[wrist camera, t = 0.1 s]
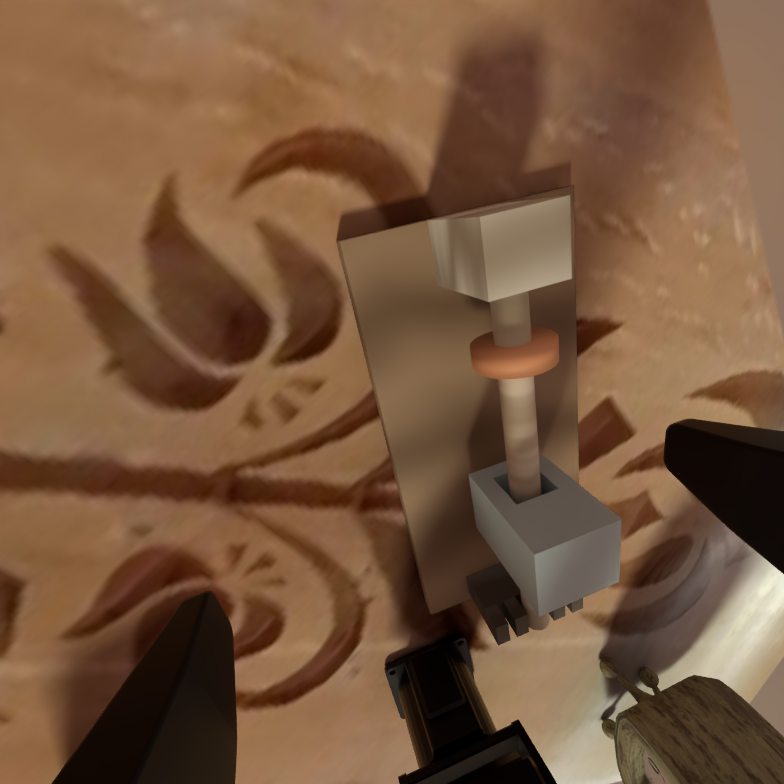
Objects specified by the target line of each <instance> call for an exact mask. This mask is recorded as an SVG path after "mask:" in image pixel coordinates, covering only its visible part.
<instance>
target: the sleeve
mask: <svg viewBox="0 0 784 784" xmlns="http://www.w3.org/2000/svg"><path fill="white" fill-rule="evenodd" d="M539 465H540V480H541V496H538V497H535V498H533V499H530V500H528V501H525V502H522V503H520V504H516V503H515V502H514V501H513V500H512V499H511V498H510V489H509V480H508V470H507V461H505V462H502V463H499V464H496V465H493V466H491V467H488V468H485V469H482V470H479V471H477V472H474V473H471V474H468V475H469V482H470V488H471V495H472V501H473V508H474V514H475V521H476V527H477V529H478V530H479V532H480V533H481V534H482V536H483V537H484V539H485V540H486V542H487V543H488V544H489V546H490V547H491V549H492V550H493V552H494V553H495V554H496V556H497V557H498V559H499V560H500V562H501V563H502V564H503V566H504V567H505V569H506V570H507V572H508V573H509V575H510V576H511V577H512V579H513V580H514V582H515V583H516V585H517V586H518V587H519V589H520V590H521V592H522V593H523V595H524V596H525V597H526V599H527V600H528V602H529V603H530V605H531V606H532V607H533V609H534V610H535V612H536V613H537V615H538V616H539V617H540V616H542V615H545V614H547V613H549V612H552V611H554V610H556V609H558V608H561V607H563V606H565V605H568V604H570V603H572V602H574V601H577V600H579V599H581V598H584V597H586V596H588V595H590V594H593V593H595V592H597V591H599V590H602V589H604V588H606V587H609V586H611V585H613V584H615V583H618V582H619V571H620V546H621V522H622V519H621V518H619V517H618V516H617V515H616V514H614V513H613V512H612V511H611V510H610V509H608V508H607V507H606V506H605V505H603V504H602V503H601V502H600V501H599V500H597V499H596V498H595V497H594V496H592V495H591V494H590V493H589V492H588V491H586V490H585V489H584V488H583V487H581V486H580V485H579V484H578V483H577V482H575V481H574V480H573V479H572V478H570V477H569V476H568V475H567V474H566V473H564V472H563V471H562V470H561V469H559V468H558V467H557V466H556V465H555V464H553V463H552V462H551V461H550V460H548V459H547V458H546V457H545V456H544V455H542V454H541V453H540V452H539Z"/></svg>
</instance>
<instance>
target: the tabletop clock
mask: <svg viewBox="0 0 784 784" xmlns="http://www.w3.org/2000/svg"><path fill="white" fill-rule="evenodd" d="M600 669H601V671H602V672H603V674H604V675H605V676H606V677H608V678H612V679H613V678H617V679H618V681H619V682H620V683H621V684H622V685H623V686H624V687H625V688H626V689H627V690H628V691H629V692H630V693H631V695H632V696H633V697H634V698H635V699H636V701H637V702H638V704H636V705H634V706H632V707H631V708H629V709H627V710H625V711H623V712H621V713H619V714H618V715H617V717H616V723H615V722H614V721H613V720H611V719H605V720H604V721H603V723H602V729H603V731H604V733H605V734H606V736H607V737H609V738H610V739H614V740H615V750H616V759H617V765H618V769H619V772H620V775H621V778H622V781H623V783H624V784H784V737H783V736H782V735H781V734H780V733H779V732H778V731H777V730H776V729H775V728H774V727H773V726H772V725H771V724H770V723H768V722H767V721H766V720H765V719H764V718H763V717H762V716H761V715H760V714H759V713H758V712H757V711H756V710H755V709H754V708H752V706H751V705H750V704H749V703H747V702H746V701H745V700H744V699H743V698H742V697H741V696H739V695H738V694H737V693H736V692H735V691H734V690H732V689H731V688H730V687H728V686H727V685H726V684H724V683H723V682H722V681H720V680H718V679H713V678H707V677H702V676H696V675H693V676H690V677H688V678H686V679H684V680H682V681H680V682H678V683H676V684H674V685H672V686H671V687H669V688H667V689H665V690H663V691H660V690H659V688H658V687H657V685H658V683H659V679H658V676H657V674H656V673H655V672H654V671H653V670H651V669H649V668H644V669H642V670H641V672H640V678H641V680H642V682H643V683H644V685H646V686H647V687H650V688H652V689H653V692H654V694H655V695H650V694H648V693H646V692H643V691H642V690H640V689H639V688H637V687H636V686H635V685H634V684H632V683H631V682H630V681H629V680H627V679H626V678H625V677H624V676H622V675H621V674H620V673H619V672H620V670H619V666H618V664H617V663H616V661H614V660H613V659H612V658H609V657H606V658H603V659H602V660H601V661H600Z"/></svg>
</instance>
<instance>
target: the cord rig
mask: <svg viewBox="0 0 784 784" xmlns="http://www.w3.org/2000/svg"><path fill="white" fill-rule="evenodd" d="M336 242H337V246H338V250H339V254H340V258H341V262H342V266H343V270H344V274H345V278H346V282H347V286H348V290H349V294H350V298H351V302H352V306H353V310H354V314H355V318H356V323H357V327H358V331H359V335H360V339H361V343H362V347H363V351H364V355H365V359H366V363H367V367H368V371H369V375H370V379H371V383H372V387H373V391H374V395H375V399H376V403H377V407H378V411H379V415H380V419H381V423H382V427H383V431H384V435H385V439H386V444H387V448H388V452H389V456H390V460H391V464H392V468H393V472H394V476H395V480H396V484H397V488H398V492H399V496H400V500H401V504H402V508H403V512H404V516H405V520H406V524H407V528H408V532H409V536H410V540H411V544H412V548H413V552H414V556H415V560H416V565H417V569H418V573H419V577H420V581H421V585H422V589H423V593H424V597H425V601H426V604H427V607H428V609H429V611H430V614H431V615H433V614H435V613H437V612H440V611H442V610H445V609H447V608H449V607H452V606H454V605H457V604H459V603H461V602H464V601H466V600H469V599H471V598H473V600H474V602H475V604H476V606H477V607H478V609H479V611H480V613H481V615H482V616H483V618H484V620H485V622H486V624H487V625H488V627H489V629H490V631H491V633H492V635H493V636H494V638H495V640H496V642H497V644H498V645H500V644H503V643H505V642H507V641H509V640H510V635H509V627H508V622H509V624H510V626H511V627H512V629H513V631H514V632H515V634H516V635H517V637H518V636H521V635H523V634H525V633H527V632H529V628H528V627H530V628H531V629H534V630H542V629H545V628H546V627H547V626H548V624H549V614H550V616H551V617H552V618H553V620H554V621H555V620H557V619H559V618H561V617H564V616H565V606H563V607H561V608H558V609H556V610H554V611H552V612H549V613H547V614H545V615H542V616H540V617H539V616H538V615H537V613H536V612H535V610H534V609H533V607H532V606H531V605H530V603H529V602H528V600H527V599H526V597H525V596H524V595H523V593H522V592H521V590H520V589H519V587H518V586H517V585H516V583H515V582H514V580H513V579H512V577H511V576H510V575H509V573H508V572H507V570H506V569H505V567H504V566H503V564H502V563H501V562H500V560H499V559H498V557H497V556H496V554H495V553H494V552H493V550H492V549H491V547H490V546H489V544H488V543H487V542H486V540H485V539H484V537H483V536H482V534H481V533H480V532H479V530H478V529H477V527H476V521H475V514H474V508H473V501H472V495H471V488H470V482H469V475H468V474H471V473H474V472H477V471H479V470H482V469H485V468H488V467H491V466H493V465H496V464H499V463H502V462H505V461H507V470H508V480H509V489H510V498H511V499H512V500H513V501H514V502H515V503H516V504H520V503H522V502H525V501H528V500H530V499H533V498H535V497H538V496H541V480H540V465H539V452H540V453H541V454H542V455H544V456H545V457H546V458H547V459H548V460H550V461H551V462H552V463H553V464H555V465H556V466H557V467H558V468H559V469H561V470H562V471H563V472H564V473H566V474H567V475H568V476H569V477H570V478H572V479H573V480H574V481H575V482H577V483H578V484H579V466H578V401H577V335H576V270H575V205H574V186H568V187H561V188H557V189H553V190H548V191H544V192H540V193H536V194H532V195H527V196H523V197H519V198H515V199H511V200H506V201H502V202H498V203H494V204H490V205H485V206H481V207H477V208H473V209H469V210H464V211H460V212H456V213H452V214H448V215H443V216H439V217H435V218H431V219H427V220H422V221H418V222H414V223H410V224H406V225H401V226H397V227H393V228H389V229H385V230H380V231H376V232H372V233H368V234H363V235H359V236H355V237H351V238H347V239H342V240H338V241H336ZM566 606H567V607H568V608H569V609H570V611H571V612H572V613H573V612H575V611H577V610H579V609H582V608H583V598H581V599H579V600H577V601H574V602H572V603H570V604H568V605H566ZM505 618H506V619H507V621H508V622H507V621H506V619H505Z"/></svg>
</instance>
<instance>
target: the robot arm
mask: <svg viewBox="0 0 784 784" xmlns="http://www.w3.org/2000/svg"><path fill="white" fill-rule="evenodd" d="M663 459H664V463H665V465H666V467H667V469H668V470H669V471H670V472H671V473H672V474H673V475H674V476H675V477H676V478H677V479H678V480H679V481H680V482H681V483H682V484H683V485H684V486H685V487H686V488H687V489H688V490H689V491H691V492H692V493H693V494H694V495H695V496H696V497H697V498H698V499H699V500H700V501H701V502H702V503H703V504H704V505H705V506H706V507H707V508H708V509H709V510H710V511H711V512H712V513H713V514H714V515H715V516H716V517H717V518H718V519H719V520H721V521H722V522H723V523H724V524H725V525H726V526H727V527H728V528H729V529H730V530H731V531H733V532H734V533H735V534H736V535H737V536H738V537H740V538H741V539H742V540H743V541H744V542H745V543H747V544H748V545H749V546H750V547H752V548H753V549H754V550H755V551H756V552H758V553H759V554H760V555H761V556H762V557H764V558H765V559H766V560H767V561H769V562H770V563H771V564H772V565H773V566H775V567H776V568H777V569H778V570H779V571H781V572H782V573H783V574H784V431H777V430H770V429H762V428H755V427H748V426H741V425H733V424H726V423H719V422H712V421H704V420H697V419H684V420H682V421H679V422H676V423H673V424H671V425H670V426H668V428H667V430H666V436H665V446H664V456H663ZM385 673H386V676H387V679H388V682H389V685H390V688H391V691H392V694H393V697H394V700H395V702H396V705H397V708H398V711H399V714H400V717H401V718H402V719H405V720H406V723H407V727H408V730H409V734H410V738H411V741H412V745H413V748H414V752H415V756H416V759H417V763H418V766H419V769H418V770H416V771H413V772H411V773H409V774H407V775H406V773H405V774H403V775H401V776H399V777H398V779H399V783H400V784H557V783H556V781H555V780H554V778H553V776H552V774H551V773H550V771H549V769H548V768H547V766H546V764H545V763H544V761H543V759H542V758H541V756H540V754H539V753H538V751H537V749H536V748H535V746H534V744H533V743H532V741H531V739H530V738H529V736H528V734H527V733H526V731H525V729H524V728H523V726H522V724H521V723H520V721H519V720H516V721H514V722H511V725H509V726H507V727H505V728H503V729H501V730H499V731H497V730H496V728H495V726H494V724H493V721H492V719H491V717H490V715H489V713H488V710H487V708H486V706H485V704H484V702H483V699H482V697H481V695H480V693H479V691H478V688H477V686H476V684H475V680H474V675H473V670H472V665H471V660H470V655H469V650H468V645H467V640H466V638H465V636H464V634H457V635H455V636H452V637H450V638H448V639H445V640H443V641H441V642H438V643H436V644H434V645H431V646H429V647H427V648H424V649H422V650H420V651H417V652H415V653H413V654H410V655H408V656H406V657H403V658H401V659H399V660H396V661H394V662H392V663H389V664H388V665H387V666H386V667H385ZM236 755H237V716H236V692H235V668H234V643H233V631H232V627H231V624H230V621H229V619H228V618H227V616H226V614H225V612H224V610H223V608H222V606H221V604H220V603H219V601H218V599H217V597H216V595H215V594H214V593H213V592H212V591H205V592H202V593H199V594H196V595H194V596H191V597H188V598H186V599H185V600H184V601H183V602H182V603H181V604H180V605H179V607H178V608H177V610H176V611H175V612H174V614H173V615H172V617H171V618H170V619H169V621H168V622H167V624H166V625H165V626H164V628H163V629H162V630H161V632H160V633H159V635H158V636H157V637H156V639H155V640H154V642H153V643H152V644H151V646H150V647H149V649H148V650H147V651H146V653H145V654H144V656H143V657H142V658H141V660H140V661H139V663H138V664H137V665H136V667H135V668H134V670H133V671H132V672H131V674H130V675H129V676H128V678H127V679H126V681H125V682H124V683H123V685H122V686H121V688H120V689H119V690H118V692H117V693H116V695H115V696H114V697H113V699H112V700H111V702H110V703H109V704H108V706H107V707H106V709H105V710H104V711H103V713H102V714H101V716H100V717H99V718H98V720H97V721H96V722H95V724H94V725H93V727H92V728H91V729H90V731H89V732H88V734H87V735H86V736H85V738H84V739H83V741H82V742H81V743H80V745H79V746H78V748H77V749H76V750H75V752H74V753H73V755H72V756H71V757H70V759H69V760H68V762H67V763H66V764H65V766H64V767H63V769H62V770H61V771H60V773H59V774H58V775H57V777H56V778H55V780H54V781H53V782H52V784H235V773H236Z"/></svg>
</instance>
